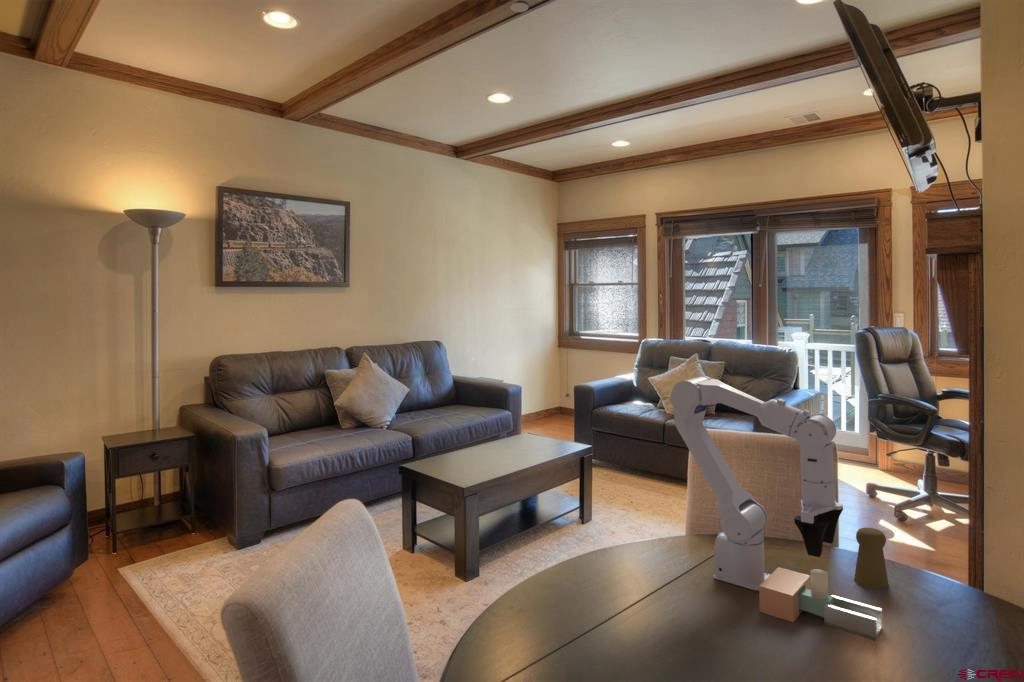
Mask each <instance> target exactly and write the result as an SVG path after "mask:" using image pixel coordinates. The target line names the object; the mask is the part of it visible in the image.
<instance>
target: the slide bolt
mask: <svg viewBox="0 0 1024 682" xmlns="http://www.w3.org/2000/svg"><path fill="white" fill-rule="evenodd" d="M810 577H811V590H808V589H805V588H802V589H801V590H800V591H799V609H801V610H803V611H805V612H807V613H811V614H813V615H818V616H821V617H824V605H825V604H829V605H832V606H834V597H833V596H832V595H831V594H830V595H829V574H828V572H827V571H826V570H822V569H819V568H818V569H815V568H814V569H811V570H810Z"/></svg>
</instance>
